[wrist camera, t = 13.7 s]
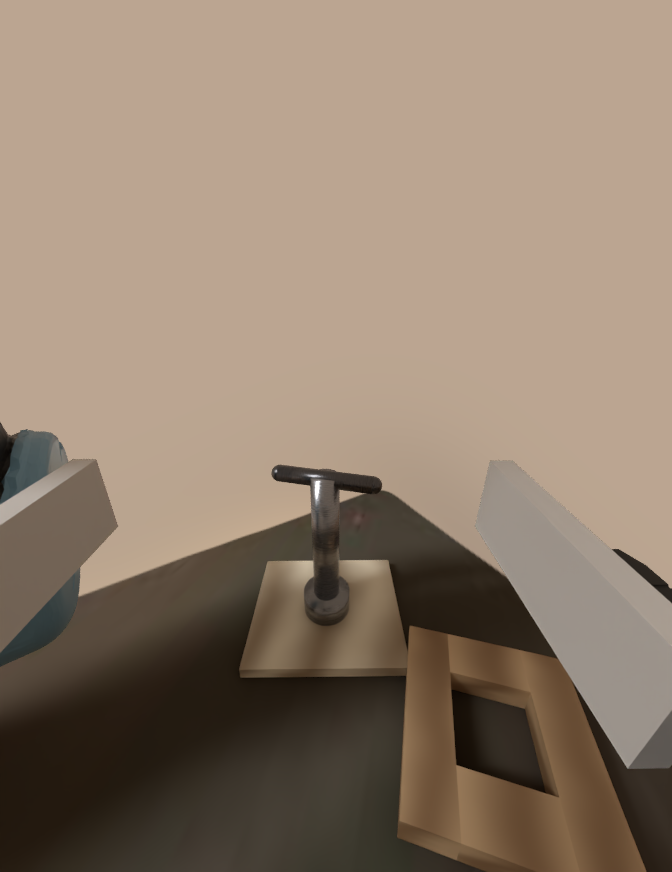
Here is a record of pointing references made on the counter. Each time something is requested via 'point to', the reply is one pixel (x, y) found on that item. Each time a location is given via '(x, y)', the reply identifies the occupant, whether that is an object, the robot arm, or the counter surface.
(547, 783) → the holder block
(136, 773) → the counter surface
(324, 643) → the birch board
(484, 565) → the counter surface
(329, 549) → the chuck key
